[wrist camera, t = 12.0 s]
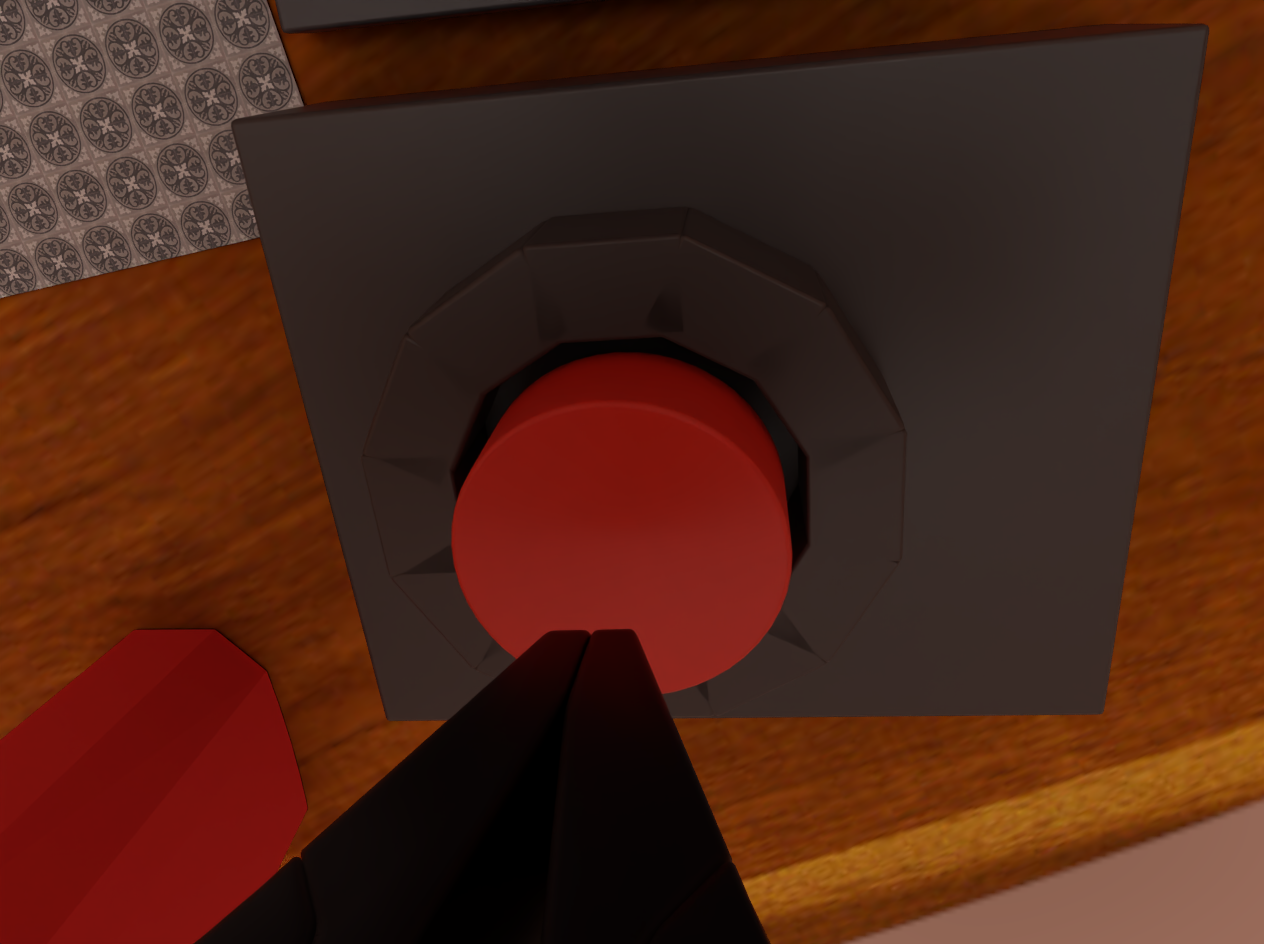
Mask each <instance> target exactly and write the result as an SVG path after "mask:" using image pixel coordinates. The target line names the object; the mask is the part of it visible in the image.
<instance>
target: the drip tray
mask: <svg viewBox="0 0 1264 944" xmlns="http://www.w3.org/2000/svg"><path fill="white" fill-rule="evenodd" d="M599 1H608V0H275V2H276V6H277V11H278V15H279V19H280V24H281V28H282V30H283V32H285V33H317V32H326V31H335V30H344V29H353V28H362V27H371V26H380V25H389V24H398V23H408V22H417V21H426V20H435V19H444V18H453V17H462V16H471V15H480V14H490V13H499V12H508V11H517V10H526V9H535V8H544V7H553V6H562V5H571V4H581V3H590V2H599Z"/></svg>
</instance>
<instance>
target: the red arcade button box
mask: <svg viewBox="0 0 1264 944" xmlns="http://www.w3.org/2000/svg"><path fill="white" fill-rule="evenodd" d="M1208 35H1209V27H1208V25H1205V24H1103V25H1093V26H1083V27H1073V28H1063V29H1052V30H1042V31H1032V32H1022V33H1012V34H1002V35H992V36H982V37H972V38H962V39H952V40H942V41H932V42H922V43H912V44H902V45H892V46H882V47H872V48H862V49H852V50H842V51H832V52H822V53H811V54H801V55H791V56H781V57H771V58H761V59H751V60H741V61H731V62H721V63H711V64H701V65H691V66H681V67H671V68H661V69H651V70H641V71H631V72H621V73H611V74H601V75H591V76H581V77H570V78H560V79H550V80H540V81H530V82H520V83H510V84H500V85H490V86H480V87H470V88H460V89H450V90H440V91H430V92H420V93H410V94H400V95H390V96H380V97H370V98H360V99H350V100H340V101H329V102H323V103H317V104H312V105H307V106H301V107H296V108H291V109H285V110H280V111H275V112H269V113H264V114H258V115H253V116H248V117H242V118H237V119H235V120H233V121H232V122H231V129H232V132H233V136H234V140H235V144H236V148H237V151H238V155H239V159H240V163H241V167H242V170H243V174H244V178H245V182H246V186H247V189H248V193H249V197H250V201H251V205H252V209H253V212H254V216H255V220H256V224H257V228H258V231H259V235H260V239H261V243H262V247H263V250H264V254H265V258H266V262H267V266H268V269H269V273H270V277H271V281H272V285H273V288H274V292H275V296H276V300H277V304H278V307H279V311H280V315H281V319H282V323H283V326H284V330H285V334H286V338H287V342H288V346H289V349H290V353H291V357H292V361H293V365H294V368H295V372H296V376H297V380H298V384H299V387H300V391H301V395H302V399H303V403H304V406H305V410H306V414H307V418H308V422H309V425H310V429H311V433H312V437H313V441H314V444H315V448H316V452H317V456H318V460H319V463H320V467H321V471H322V475H323V479H324V482H325V486H326V490H327V494H328V498H329V502H330V505H331V509H332V513H333V517H334V521H335V524H336V528H337V532H338V536H339V540H340V543H341V547H342V551H343V555H344V559H345V562H346V566H347V570H348V574H349V578H350V581H351V585H352V589H353V593H354V597H355V600H356V604H357V608H358V612H359V616H360V619H361V623H362V627H363V631H364V635H365V639H366V642H367V646H368V650H369V654H370V658H371V661H372V665H373V669H374V673H375V677H376V680H377V684H378V688H379V692H380V696H381V699H382V703H383V707H384V711H385V715H386V718H387V720H389V721H426V720H449V719H450V718H451V717H452V716H453V715H454V714H455V713H457V712H458V711H459V710H460V709H461V708H462V707H463V706H464V705H466V704H467V703H468V702H469V701H470V700H471V699H472V698H473V697H475V696H476V695H477V694H478V693H479V692H480V691H481V690H482V689H484V688H485V687H486V686H487V685H488V684H489V683H490V682H491V681H492V680H494V679H495V678H496V677H497V676H498V675H499V674H500V673H501V672H503V671H504V670H505V669H506V668H507V667H508V666H509V665H510V664H512V663H513V662H514V661H515V660H516V658H515V657H513V656H512V655H511V654H510V653H508V652H507V651H506V650H505V649H503V648H502V647H501V646H500V645H499V644H498V643H497V642H496V641H495V640H494V639H493V638H492V637H491V636H490V635H489V633H488V632H487V631H486V630H485V628H484V627H483V626H482V625H481V623H480V622H479V621H478V619H477V618H476V616H475V615H474V613H473V611H472V610H471V608H470V606H469V605H468V603H467V601H466V598H465V596H464V594H463V592H462V589H461V587H460V585H459V581H458V577H457V574H456V570H455V567H454V562H453V554H452V547H451V532H452V521H453V515H454V509H455V505H456V502H457V499H458V496H459V493H460V490H461V487H462V485H463V483H464V482H465V480H466V478H467V476H468V474H469V472H470V470H471V468H472V467H473V465H474V463H475V461H476V460H477V458H478V456H479V455H480V453H481V451H482V450H483V448H484V446H485V445H486V443H487V441H488V439H489V438H490V436H491V434H492V433H493V431H494V429H495V428H496V426H497V424H498V422H499V421H500V419H501V417H502V416H503V415H504V413H505V412H506V410H507V409H508V408H509V406H510V405H511V403H512V402H513V401H514V400H515V399H516V398H517V397H518V396H519V395H520V394H521V393H522V392H523V391H524V390H525V389H526V388H527V387H528V386H530V385H531V384H532V383H534V382H535V381H536V380H538V379H539V378H540V377H542V376H543V375H545V374H547V373H549V372H550V371H552V370H554V369H556V368H557V367H560V366H562V365H565V364H567V363H570V362H572V361H575V360H577V359H581V358H585V357H589V356H593V355H597V354H605V353H613V352H641V353H649V354H657V355H662V356H666V357H670V358H673V359H677V360H681V361H683V362H686V363H688V364H691V365H693V366H696V367H698V368H700V369H702V370H704V371H706V372H708V373H710V374H711V375H713V376H715V377H717V378H718V379H720V380H721V381H723V382H724V383H725V384H727V385H728V386H729V387H731V388H732V389H733V390H735V391H736V392H737V393H738V394H739V395H740V396H741V397H742V398H743V399H744V400H745V401H746V402H747V403H748V404H749V405H750V406H751V407H752V408H753V410H754V411H755V412H756V413H757V415H758V416H759V417H760V419H761V420H762V421H763V423H764V425H765V426H766V428H767V430H768V432H769V433H770V435H771V437H772V439H773V441H774V444H775V446H776V449H777V451H778V453H779V457H780V461H781V465H782V469H783V473H784V482H785V490H786V499H787V508H788V516H789V525H790V534H791V543H792V572H791V577H790V582H789V587H788V592H787V594H786V597H785V600H784V602H783V605H782V608H781V610H780V612H779V614H778V615H777V617H776V619H775V621H774V623H773V624H772V626H771V628H770V629H769V630H768V632H767V633H766V634H765V635H764V637H763V638H762V639H761V641H760V642H759V643H758V644H757V645H756V646H755V647H754V648H753V649H752V650H751V651H750V652H749V653H748V654H747V655H746V656H745V657H744V658H743V659H741V660H740V661H739V662H737V663H736V664H735V665H733V666H732V667H731V668H729V669H728V670H726V671H724V672H723V673H721V674H719V675H717V676H716V677H714V678H712V679H710V680H707V681H705V682H703V683H700V684H698V685H696V686H693V687H690V688H686V689H683V690H679V691H676V692H671V693H665V694H662V695H663V697H664V700H665V702H666V704H667V707H668V709H669V712H670V714H671V716H672V718H757V717H867V716H977V715H1087V714H1102V713H1103V711H1104V705H1105V699H1106V693H1107V686H1108V680H1109V673H1110V667H1111V660H1112V654H1113V647H1114V641H1115V635H1116V628H1117V622H1118V615H1119V609H1120V602H1121V596H1122V589H1123V583H1124V577H1125V570H1126V564H1127V557H1128V551H1129V544H1130V538H1131V531H1132V525H1133V519H1134V512H1135V506H1136V499H1137V493H1138V486H1139V480H1140V473H1141V467H1142V461H1143V454H1144V448H1145V441H1146V435H1147V428H1148V422H1149V416H1150V409H1151V403H1152V396H1153V390H1154V383H1155V377H1156V370H1157V364H1158V358H1159V351H1160V345H1161V338H1162V332H1163V325H1164V319H1165V312H1166V306H1167V300H1168V293H1169V287H1170V280H1171V274H1172V267H1173V261H1174V254H1175V248H1176V242H1177V235H1178V229H1179V222H1180V216H1181V209H1182V203H1183V196H1184V190H1185V184H1186V177H1187V171H1188V164H1189V158H1190V151H1191V145H1192V138H1193V132H1194V126H1195V119H1196V113H1197V106H1198V100H1199V93H1200V87H1201V81H1202V74H1203V68H1204V61H1205V55H1206V48H1207V42H1208Z"/></svg>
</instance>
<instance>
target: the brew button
mask: <svg viewBox="0 0 1264 944" xmlns="http://www.w3.org/2000/svg"><path fill="white" fill-rule="evenodd" d="M451 547H452V554H453V562H454V567H455V570H456V574H457V577H458V581H459V585H460V587H461V589H462V592H463V594H464V596H465V598H466V601H467V603H468V605H469V606H470V608H471V610H472V611H473V613H474V615H475V616H476V618H477V619H478V621H479V622H480V623H481V625H482V626H483V627H484V628H485V630H486V631H487V632H488V633H489V635H490V636H491V637H492V638H493V639H494V640H495V641H496V642H497V643H498V644H499V645H500V646H501V647H502V648H503V649H505V650H506V651H507V652H508V653H510V654H511V655H512V656H513V657H515V658H516V659H517V658H518V657H519V656H521V655H522V654H523V653H524V652H525V651H526V650H527V649H528V648H530V647H531V646H532V645H533V644H534V643H535V642H536V641H537V640H538V639H540V638H541V637H542V636H543V635H544V634H546V633H547V632H549V631H553V630H587V631H588V632H589V633H590V634H592V633H593V632H594V631H595V630H599V629H632V630H634V631H635V633H636V634H637V636H638V638H639V641H640V643H641V645H642V648H643V650H644V652H645V655H646V657H647V660H648V662H649V664H650V667H651V669H652V671H653V674H654V676H655V678H656V681H657V683H658V686H659V688H660V690H661V693H662V694H665V693H671V692H676V691H679V690H683V689H686V688H690V687H693V686H696V685H698V684H700V683H703V682H705V681H707V680H710V679H712V678H714V677H716V676H717V675H719V674H721V673H723V672H724V671H726V670H728V669H729V668H731V667H732V666H733V665H735V664H736V663H737V662H739V661H740V660H741V659H743V658H744V657H745V656H746V655H747V654H748V653H749V652H750V651H751V650H752V649H753V648H754V647H755V646H756V645H757V644H758V643H759V642H760V641H761V639H762V638H763V637H764V635H765V634H766V633H767V632H768V630H769V629H770V628H771V626H772V624H773V623H774V621H775V619H776V617H777V615H778V614H779V612H780V610H781V608H782V605H783V602H784V600H785V597H786V594H787V592H788V587H789V582H790V577H791V572H792V543H791V534H790V525H789V516H788V508H787V499H786V490H785V482H784V473H783V469H782V465H781V461H780V457H779V453H778V451H777V449H776V446H775V444H774V441H773V439H772V437H771V435H770V433H769V432H768V430H767V428H766V426H765V425H764V423H763V421H762V420H761V419H760V417H759V416H758V415H757V413H756V412H755V411H754V410H753V408H752V407H751V406H750V405H749V404H748V403H747V402H746V401H745V400H744V399H743V398H742V397H741V396H740V395H739V394H738V393H737V392H736V391H735V390H733V389H732V388H731V387H729V386H728V385H727V384H725V383H724V382H723V381H721V380H720V379H718V378H717V377H715V376H713V375H711V374H710V373H708V372H706V371H704V370H702V369H700V368H698V367H696V366H693V365H691V364H688V363H686V362H683V361H681V360H677V359H673V358H670V357H666V356H662V355H657V354H649V353H641V352H613V353H605V354H597V355H593V356H589V357H585V358H581V359H577V360H575V361H572V362H570V363H567V364H565V365H562V366H560V367H557V368H556V369H554V370H552V371H550V372H549V373H547V374H545V375H543V376H542V377H540V378H539V379H538V380H536V381H535V382H534V383H532V384H531V385H530V386H528V387H527V388H526V389H525V390H524V391H523V392H522V393H521V394H520V395H519V396H518V397H517V398H516V399H515V400H514V401H513V402H512V403H511V405H510V406H509V408H508V409H507V410H506V412H505V413H504V415H503V416H502V417H501V419H500V421H499V422H498V424H497V426H496V428H495V429H494V431H493V433H492V434H491V436H490V438H489V439H488V441H487V443H486V445H485V446H484V448H483V450H482V451H481V453H480V455H479V456H478V458H477V460H476V461H475V463H474V465H473V467H472V468H471V470H470V472H469V474H468V476H467V478H466V480H465V482H464V483H463V485H462V487H461V490H460V493H459V496H458V499H457V502H456V505H455V509H454V515H453V521H452V532H451Z"/></svg>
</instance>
